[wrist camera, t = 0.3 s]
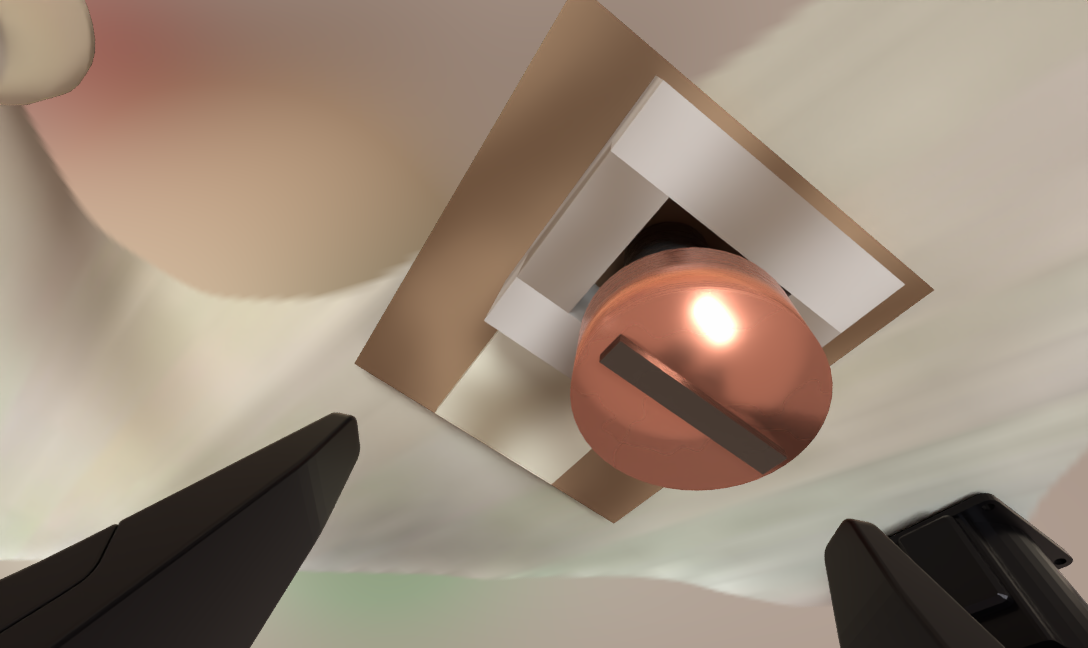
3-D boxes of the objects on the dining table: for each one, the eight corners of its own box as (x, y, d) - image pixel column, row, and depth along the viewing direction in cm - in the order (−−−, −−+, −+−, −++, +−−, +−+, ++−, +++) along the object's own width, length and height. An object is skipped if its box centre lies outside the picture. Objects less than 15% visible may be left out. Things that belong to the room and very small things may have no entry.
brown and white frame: (912, 273, 18) (1001, 340, 14) (614, 500, 27) (612, 585, 22) (581, -11, 15) (562, -37, 11) (369, 347, 24) (312, 410, 20)
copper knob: (779, 250, 17) (901, 403, 9) (671, 350, 20) (699, 531, 12) (660, 154, 16) (690, 239, 8) (563, 273, 19) (522, 418, 11)
